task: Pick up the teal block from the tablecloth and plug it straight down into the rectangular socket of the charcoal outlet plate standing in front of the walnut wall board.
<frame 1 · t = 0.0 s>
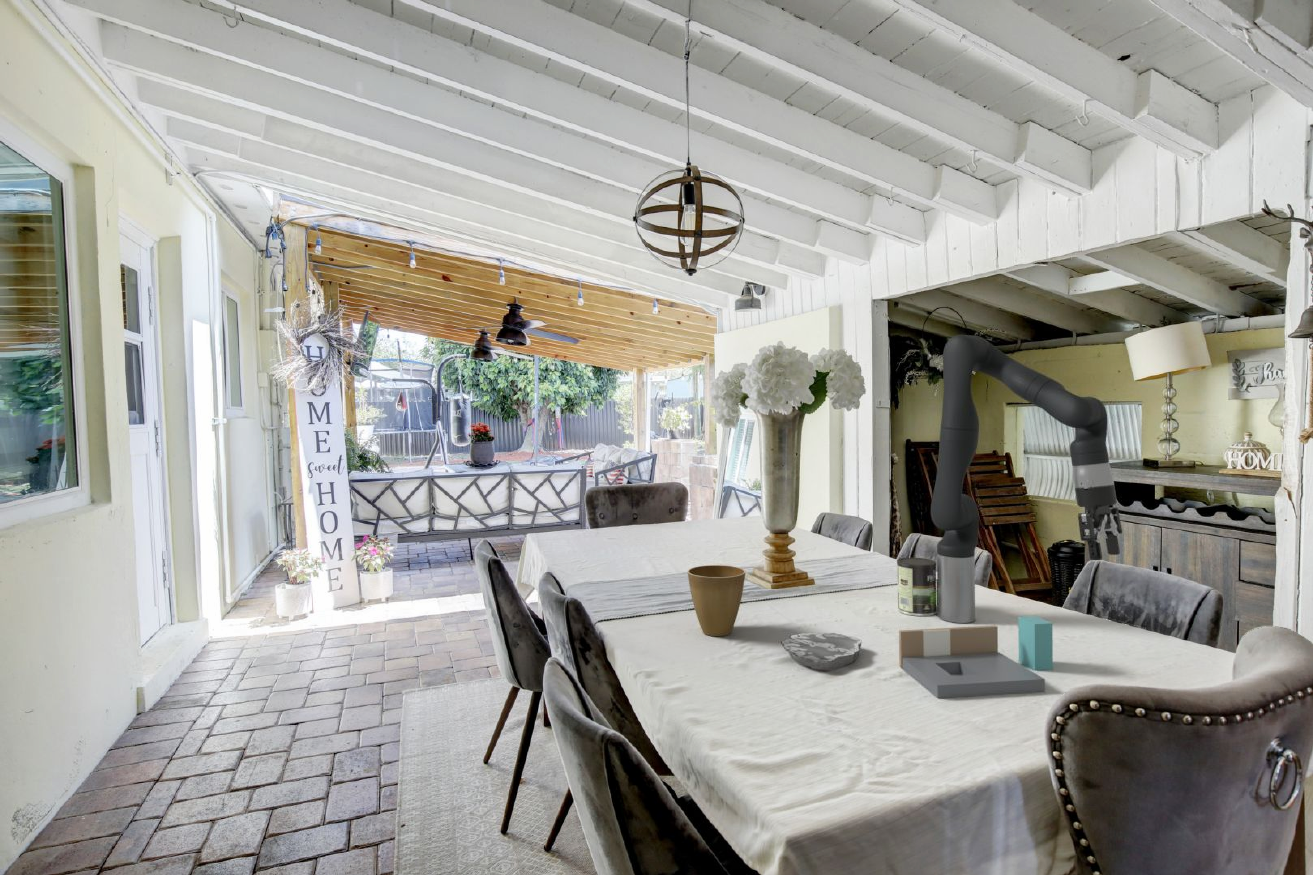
hand: (1105, 557, 148), 22 cm above the table, tool pointing down, fingers open, 8 cm apart
coffee can: (916, 611, 186), on the table
plant pot: (717, 632, 172), on the table
teal block: (1035, 665, 145), on the table
socket plate: (970, 679, 138), on the table
brain slice: (819, 658, 153), on the table
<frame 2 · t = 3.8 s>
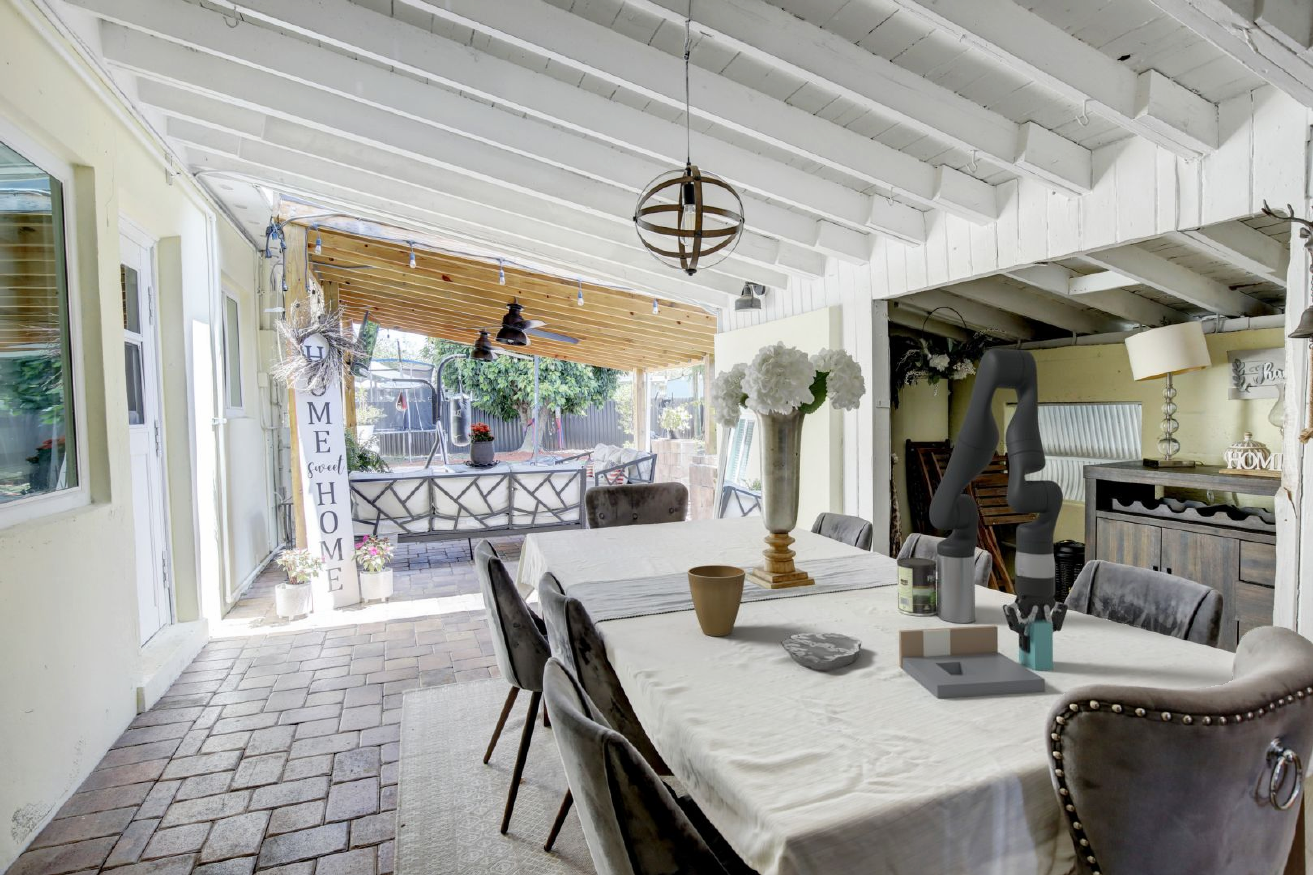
hand: (1035, 650, 144), 3 cm above the table, tool pointing down, fingers closed on teal block, 4 cm apart
teal block: (1035, 665, 145), on the table, touching gripper
everything else where it was.
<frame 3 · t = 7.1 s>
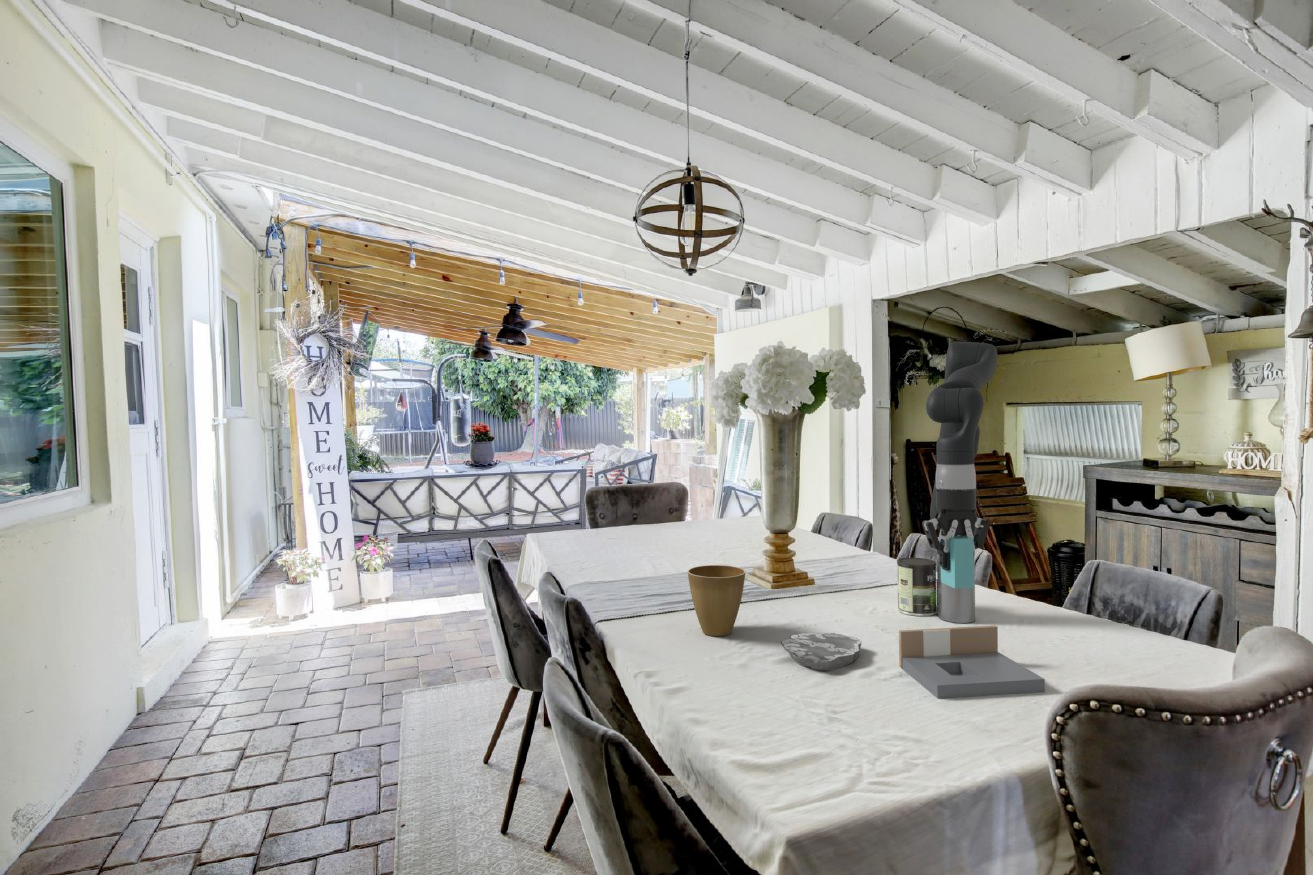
hand: (956, 568, 137), 23 cm above the table, tool pointing down, fingers closed on teal block, 4 cm apart
teal block: (957, 584, 137), point 20 cm above the table, touching gripper
everything else where it was.
when the fingers open (4 cm above the table, at t = 10.3 s): teal block stays where it is, resting in socket plate.
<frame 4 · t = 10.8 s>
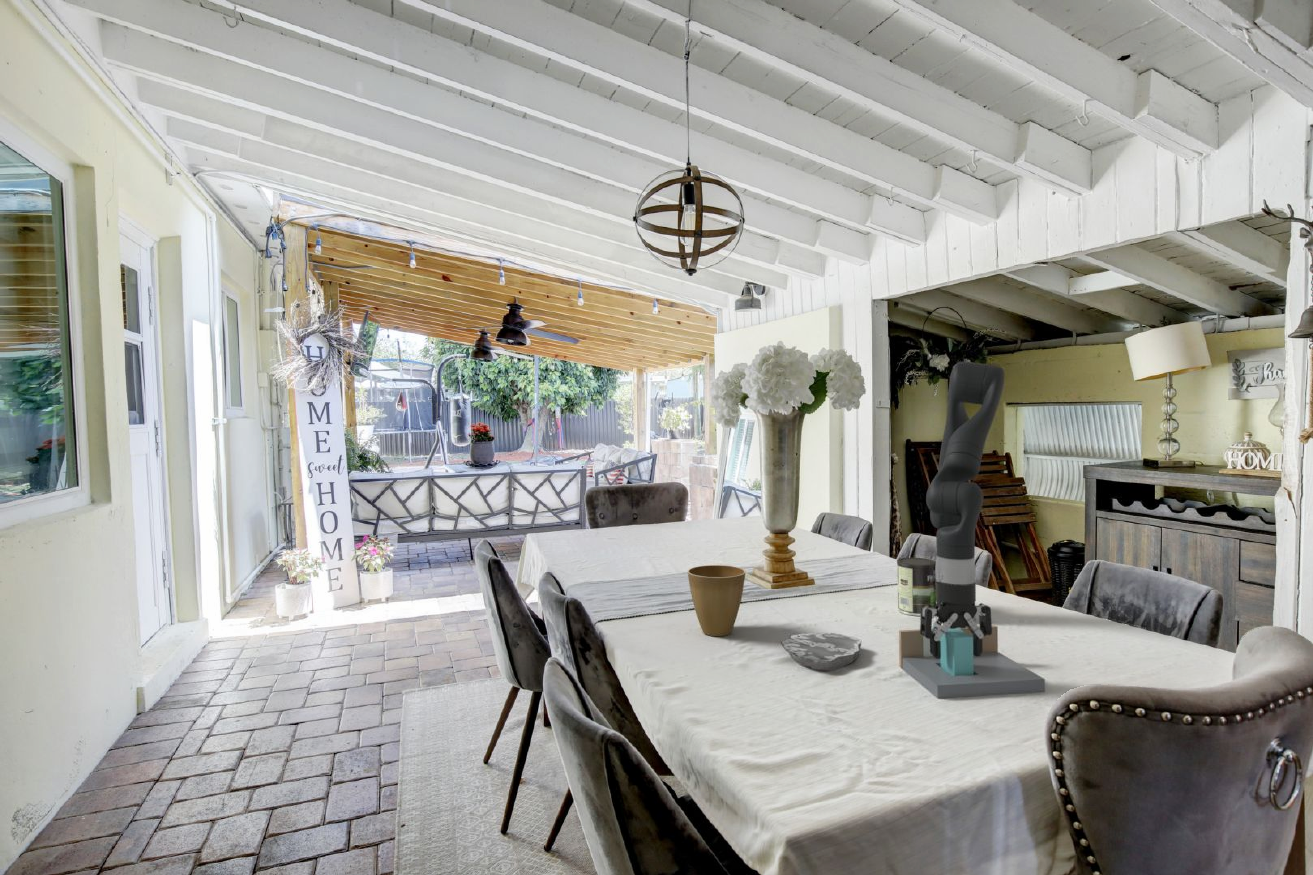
hand: (956, 656, 137), 5 cm above the table, tool pointing down, fingers open, 8 cm apart
teal block: (956, 680, 137), resting in socket plate
everything else where it was.
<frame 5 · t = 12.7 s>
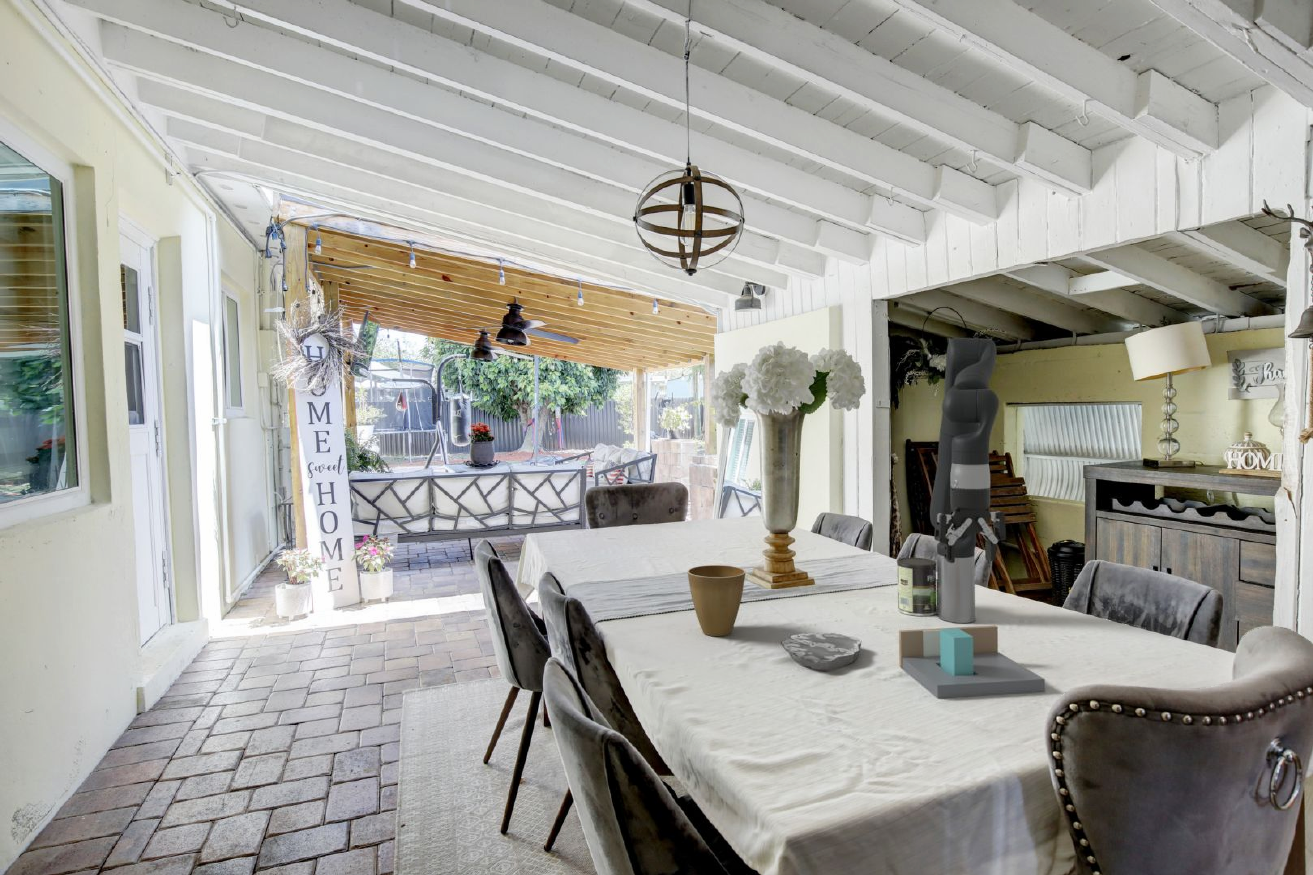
hand: (969, 561, 140), 24 cm above the table, tool pointing down, fingers open, 8 cm apart
nothing on the table moved.
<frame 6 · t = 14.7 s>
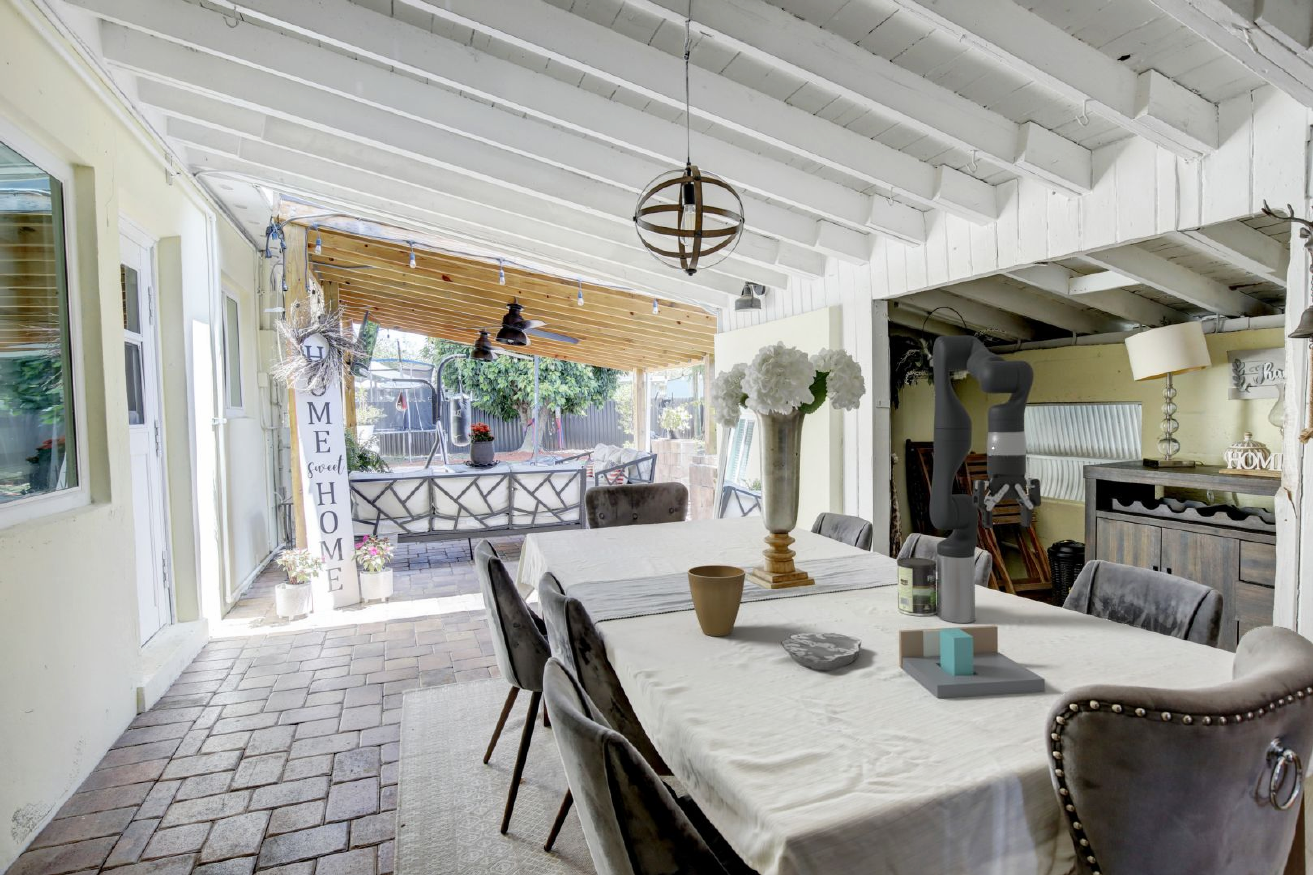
hand: (1006, 526, 145), 30 cm above the table, tool pointing down, fingers open, 8 cm apart
nothing on the table moved.
at the end: teal block 0.1 cm from the target spot on the socket plate, point 0.0 cm above the socket plate's base; teal block tilted 0°; the gripper is holding nothing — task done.
